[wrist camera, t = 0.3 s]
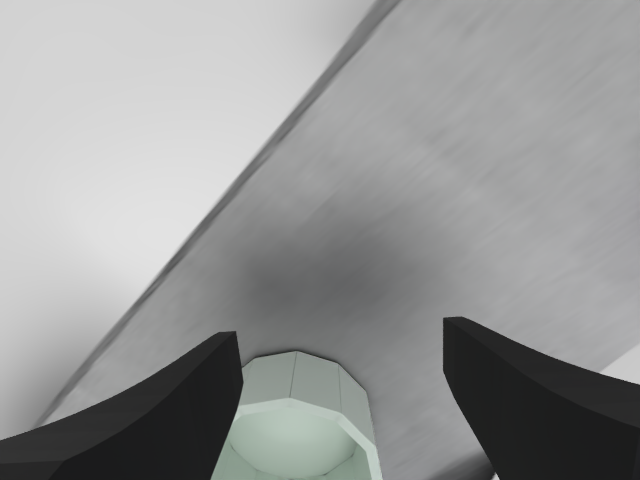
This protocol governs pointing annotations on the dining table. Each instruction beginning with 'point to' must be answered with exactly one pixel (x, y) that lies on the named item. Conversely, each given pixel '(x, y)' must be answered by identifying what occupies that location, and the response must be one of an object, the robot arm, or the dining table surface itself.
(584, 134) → the dining table surface
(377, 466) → the celadon bowl
